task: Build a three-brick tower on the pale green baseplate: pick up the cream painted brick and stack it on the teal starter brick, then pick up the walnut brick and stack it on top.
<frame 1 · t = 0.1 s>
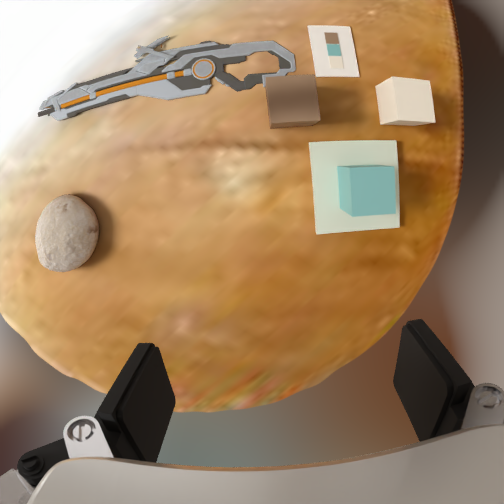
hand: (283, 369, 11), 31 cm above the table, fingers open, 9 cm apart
baseplate: (356, 185, 39), on the table
cream brick: (395, 106, 35), on the table
teal brick: (358, 186, 38), point 1 cm above the table, touching baseplate
instruction card: (333, 50, 33), on the table
walnut brick: (289, 106, 36), on the table
gun: (151, 73, 36), on the table
stone: (71, 231, 43), on the table
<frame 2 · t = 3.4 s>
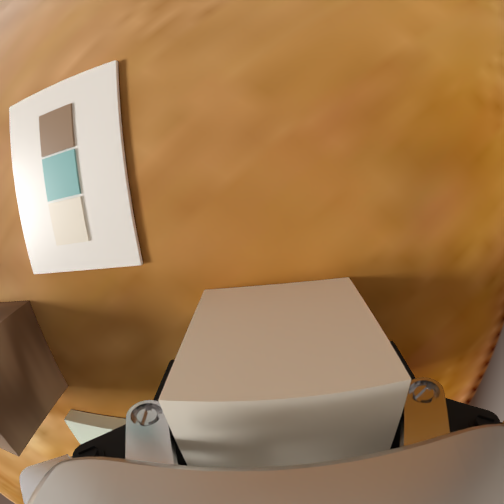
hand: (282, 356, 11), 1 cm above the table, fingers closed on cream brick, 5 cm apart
baseplate: (182, 476, 16), on the table
cream brick: (281, 344, 12), on the table, touching gripper
instruction card: (63, 175, 10), on the table
walnut brick: (19, 344, 13), on the table
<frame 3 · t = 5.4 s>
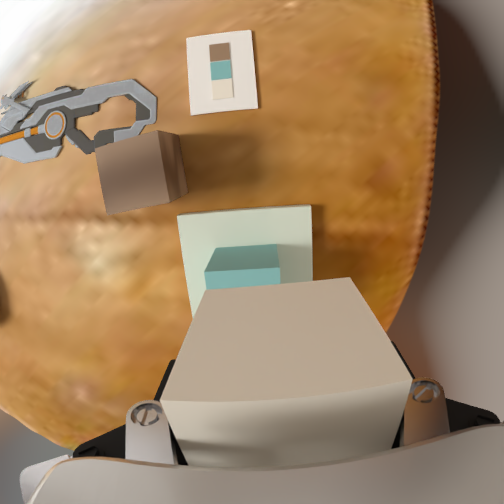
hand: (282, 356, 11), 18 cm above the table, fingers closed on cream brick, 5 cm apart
baseplate: (248, 270, 30), on the table
cream brick: (282, 344, 12), point 17 cm above the table, touching gripper
teal brick: (248, 274, 29), point 1 cm above the table, touching baseplate
instruction card: (221, 70, 24), on the table
walnut brick: (155, 169, 27), on the table
gun: (16, 127, 26), on the table
when the fingers open (9 cm above the table, at t = 7.7 s): cream brick stays where it is, resting on teal brick.
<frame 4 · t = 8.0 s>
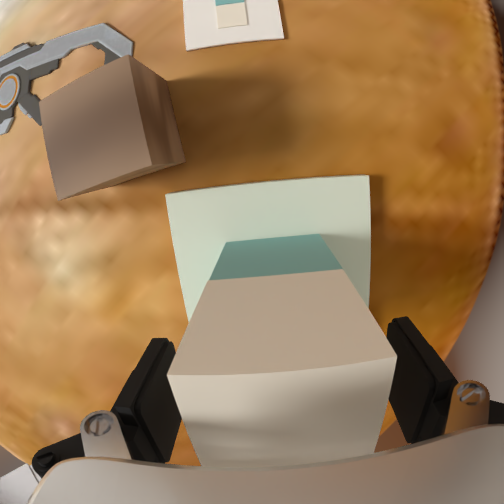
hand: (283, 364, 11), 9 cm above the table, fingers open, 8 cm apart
baseplate: (275, 275, 20), on the table
cream brick: (279, 333, 13), point 7 cm above the table, touching teal brick
teal brick: (276, 281, 19), point 1 cm above the table, touching baseplate, cream brick
walnut brick: (136, 134, 17), on the table
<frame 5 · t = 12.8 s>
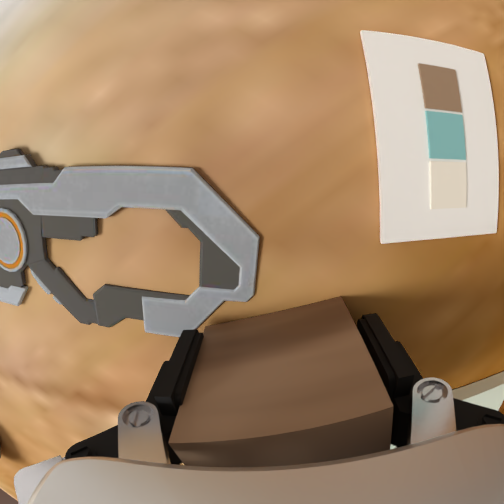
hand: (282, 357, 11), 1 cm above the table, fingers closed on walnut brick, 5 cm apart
baseplate: (407, 456, 15), on the table
instruction card: (443, 135, 9), on the table
walnut brick: (286, 365, 13), on the table, touching gripper
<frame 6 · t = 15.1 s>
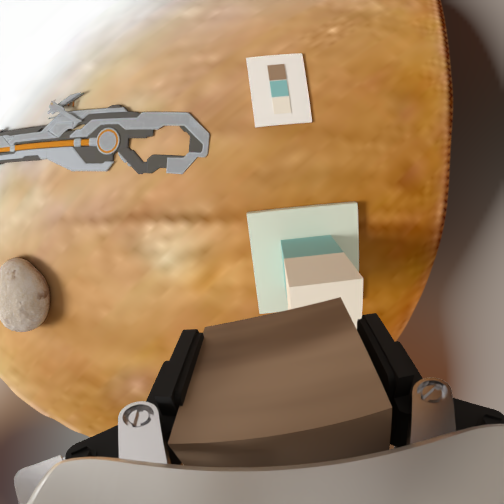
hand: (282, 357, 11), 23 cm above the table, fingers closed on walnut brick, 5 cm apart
baseplate: (306, 258, 35), on the table
cream brick: (315, 283, 28), point 7 cm above the table, touching teal brick
teal brick: (307, 261, 34), point 1 cm above the table, touching baseplate, cream brick
instruction card: (279, 88, 29), on the table
walnut brick: (286, 366, 13), point 23 cm above the table, touching gripper
gun: (63, 133, 31), on the table
stone: (27, 291, 38), on the table
when the fingers open (15 cm above the table, at t = 17.4 s): walnut brick stays where it is, resting on cream brick.
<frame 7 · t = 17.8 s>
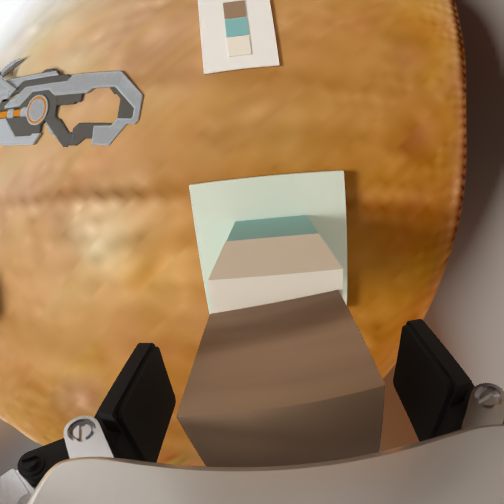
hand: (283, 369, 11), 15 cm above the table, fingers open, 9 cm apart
baseplate: (273, 248, 25), on the table
cream brick: (275, 280, 19), point 7 cm above the table, touching teal brick, walnut brick
teal brick: (273, 252, 25), point 1 cm above the table, touching baseplate, cream brick
instruction card: (236, 28, 20), on the table
walnut brick: (284, 354, 13), point 13 cm above the table, touching cream brick
gun: (1, 105, 22), on the table
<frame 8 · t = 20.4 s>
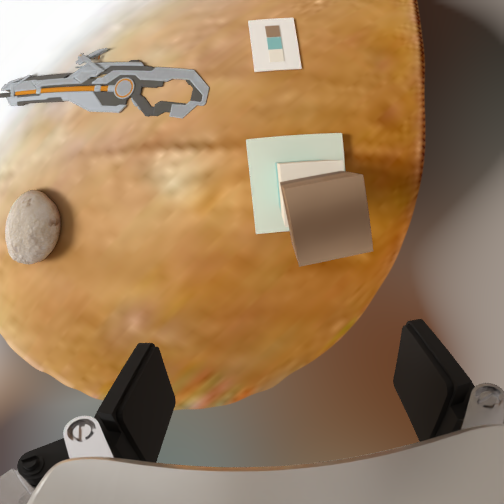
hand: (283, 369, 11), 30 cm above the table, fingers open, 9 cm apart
baseplate: (298, 182, 38), on the table
cream brick: (305, 187, 32), point 7 cm above the table, touching teal brick, walnut brick
instruction card: (274, 43, 33), on the table
walnut brick: (317, 207, 26), point 13 cm above the table, touching cream brick
gun: (85, 81, 35), on the table
stone: (38, 225, 42), on the table
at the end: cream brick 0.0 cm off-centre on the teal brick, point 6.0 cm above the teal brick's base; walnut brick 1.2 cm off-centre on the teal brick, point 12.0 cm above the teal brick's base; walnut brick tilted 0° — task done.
